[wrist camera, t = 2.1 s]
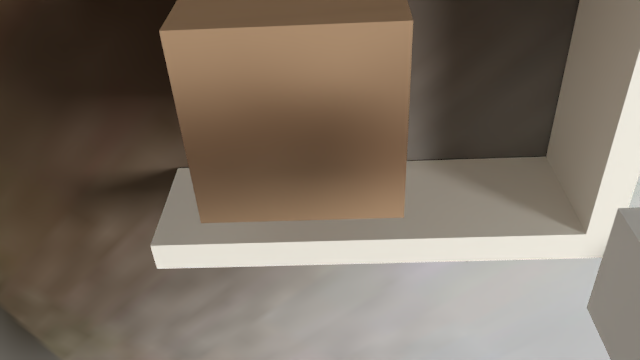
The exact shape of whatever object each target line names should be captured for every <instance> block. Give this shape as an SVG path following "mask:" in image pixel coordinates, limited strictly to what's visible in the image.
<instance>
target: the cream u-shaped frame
mask: <svg viewBox="0 0 640 360" xmlns="http://www.w3.org/2000/svg"><path fill="white" fill-rule="evenodd" d="M639 175H640V0H580V1H579V6H578V10H577V15H576V20H575V24H574V29H573V34H572V38H571V43H570V48H569V52H568V57H567V62H566V66H565V71H564V76H563V80H562V85H561V90H560V94H559V99H558V104H557V108H556V113H555V117H554V122H553V127H552V131H551V136H550V141H549V145H548V150H547V155H546V157H519V158H487V159H455V160H424V161H407V164H406V185H405V206H404V218H373V219H338V220H302V221H266V222H230V223H201V221H200V216H199V212H198V207H197V203H196V198H195V193H194V189H193V184H192V180H191V175H190V170H189V168H178V169H177V172H176V175H175V178H174V181H173V184H172V186H171V189H170V192H169V195H168V198H167V201H166V203H165V206H164V209H163V212H162V215H161V217H160V220H159V223H158V226H157V229H156V232H155V234H154V237H153V240H152V243H151V249H152V253H153V256H154V260H155V263H156V266H157V269H167V268H208V267H249V266H289V265H330V264H370V263H411V262H452V261H492V260H533V259H574V258H603V255H604V251H605V248H606V245H607V242H608V239H609V235H610V232H611V229H612V226H613V223H614V219H615V216H616V213H617V210H618V208H629V205H630V202H631V199H632V196H633V193H634V190H635V187H636V184H637V181H638V178H639Z"/></svg>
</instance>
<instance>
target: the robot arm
mask: <svg viewBox="0 0 640 360" xmlns="http://www.w3.org/2000/svg"><path fill="white" fill-rule="evenodd" d="M587 309H588V311H589V313H590V315H591V318H592V320H593V322H594V324H595V326H596V328H597V331H598V333H599V335H600V337H601V339H602V341H603V344H604V346H605V348H606V350H607V352H608V354H609V357H610V359H611V360H640V208H618V210H617V213H616V216H615V219H614V223H613V226H612V229H611V232H610V235H609V239H608V242H607V245H606V248H605V251H604V255H603V258H602V261H601V264H600V267H599V270H598V274H597V277H596V280H595V283H594V286H593V290H592V293H591V296H590V299H589V302H588V306H587Z"/></svg>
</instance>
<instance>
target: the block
mask: <svg viewBox="0 0 640 360" xmlns="http://www.w3.org/2000/svg"><path fill="white" fill-rule="evenodd" d="M159 33H160V37H161V42H162V47H163V51H164V56H165V60H166V65H167V70H168V74H169V79H170V83H171V88H172V92H173V97H174V102H175V106H176V111H177V115H178V120H179V125H180V129H181V134H182V138H183V143H184V148H185V152H186V157H187V161H188V166H189V170H190V175H191V180H192V184H193V189H194V193H195V198H196V203H197V207H198V212H199V216H200V221H201V223H230V222H266V221H302V220H338V219H373V218H404V206H405V185H406V164H407V142H408V121H409V100H410V79H411V57H412V36H413V18H412V15H411V11H410V8H409V5H408V1H407V0H177V1H176V3H175V5H174V6H173V8H172V10H171V11H170V13H169V15H168V17H167V18H166V20H165V22H164V23H163V25H162V27H161V28H160V30H159Z"/></svg>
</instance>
